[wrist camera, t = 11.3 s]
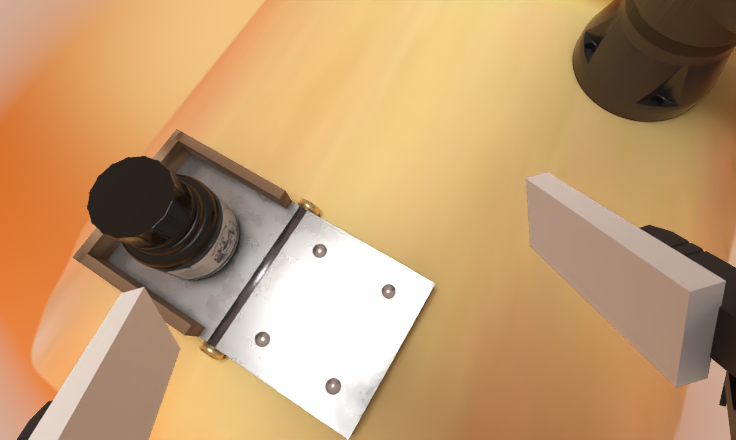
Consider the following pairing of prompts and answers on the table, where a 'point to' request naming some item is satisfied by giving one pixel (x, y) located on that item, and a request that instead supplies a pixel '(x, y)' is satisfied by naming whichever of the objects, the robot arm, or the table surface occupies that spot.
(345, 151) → the table surface
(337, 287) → the hinge
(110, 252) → the holder
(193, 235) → the ink bottle
